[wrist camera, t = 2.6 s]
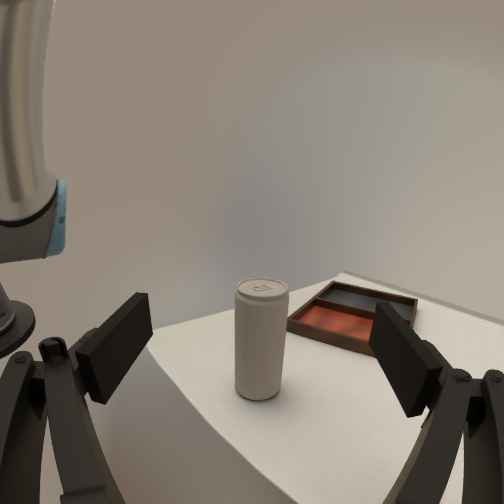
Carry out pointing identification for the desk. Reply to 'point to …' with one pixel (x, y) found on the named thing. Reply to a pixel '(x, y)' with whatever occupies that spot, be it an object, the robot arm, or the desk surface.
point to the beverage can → (260, 336)
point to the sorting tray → (346, 315)
